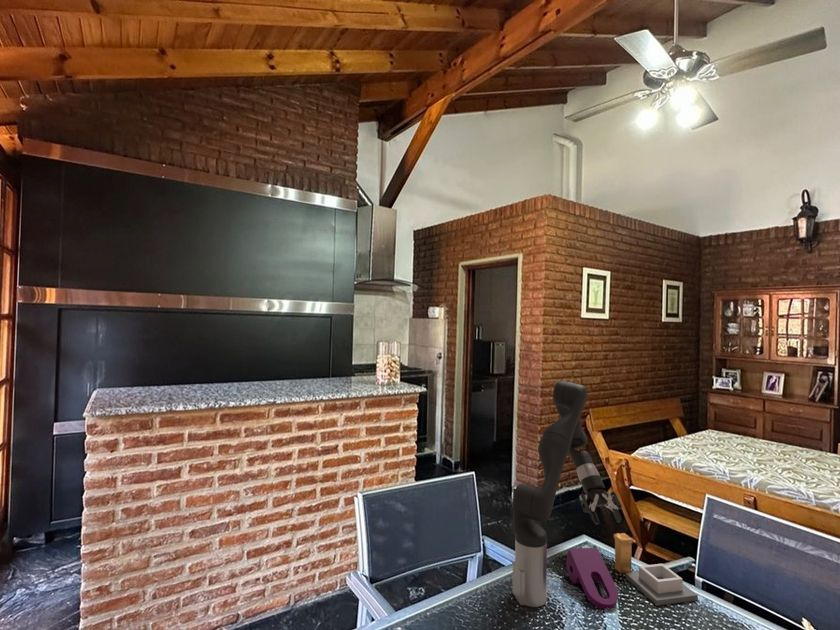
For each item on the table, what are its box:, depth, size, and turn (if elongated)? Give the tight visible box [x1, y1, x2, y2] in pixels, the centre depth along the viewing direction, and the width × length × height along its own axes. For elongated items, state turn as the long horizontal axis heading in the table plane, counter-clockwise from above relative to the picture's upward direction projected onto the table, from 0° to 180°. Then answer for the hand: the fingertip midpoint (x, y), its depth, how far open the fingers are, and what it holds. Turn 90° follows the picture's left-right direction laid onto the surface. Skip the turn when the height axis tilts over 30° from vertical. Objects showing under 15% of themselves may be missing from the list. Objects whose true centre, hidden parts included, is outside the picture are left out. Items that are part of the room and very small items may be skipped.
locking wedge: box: [613, 532, 634, 574], centre depth 145 cm, size 4×4×11 cm
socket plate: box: [625, 563, 699, 606], centre depth 135 cm, size 14×14×5 cm
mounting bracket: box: [565, 547, 620, 610], centre depth 135 cm, size 9×8×18 cm
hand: (608, 522), depth 153 cm, fingers open, 8 cm apart
